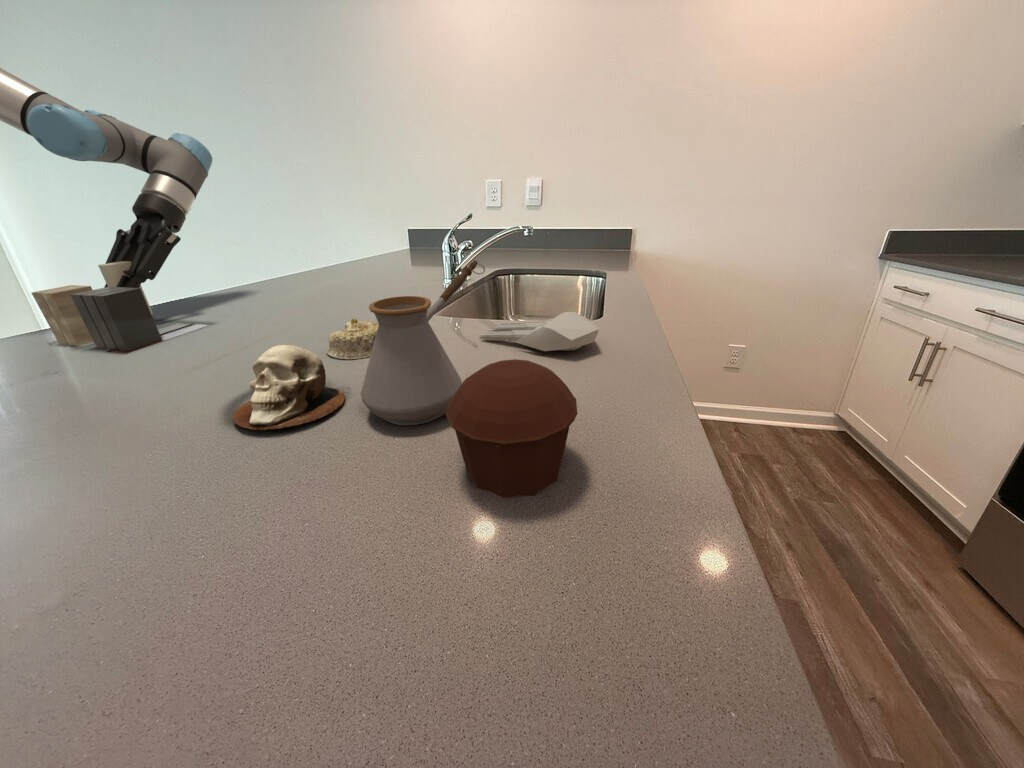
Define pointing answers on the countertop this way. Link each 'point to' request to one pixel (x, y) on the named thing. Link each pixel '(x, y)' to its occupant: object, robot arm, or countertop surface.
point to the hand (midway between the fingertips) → (110, 309)
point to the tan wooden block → (64, 314)
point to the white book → (117, 274)
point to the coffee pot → (410, 360)
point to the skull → (287, 390)
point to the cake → (353, 340)
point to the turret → (548, 333)
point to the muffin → (512, 426)
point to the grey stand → (122, 319)
